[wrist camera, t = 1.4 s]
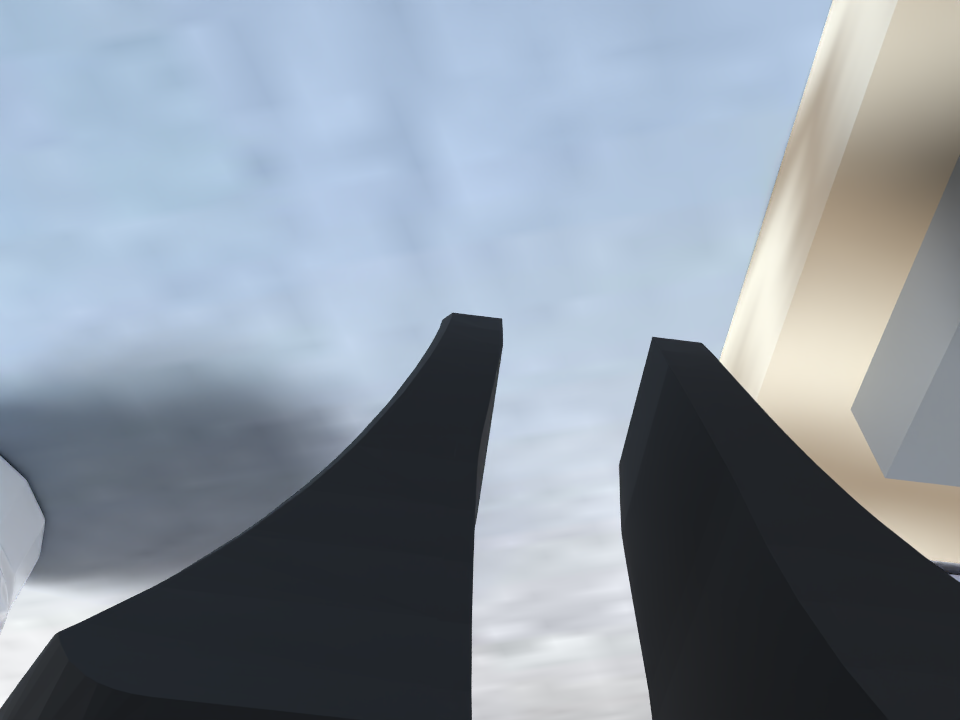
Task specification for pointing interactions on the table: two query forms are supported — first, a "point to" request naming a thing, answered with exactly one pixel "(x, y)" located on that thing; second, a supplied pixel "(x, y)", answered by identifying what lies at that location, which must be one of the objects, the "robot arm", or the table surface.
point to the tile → (920, 362)
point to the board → (853, 244)
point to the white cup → (17, 535)
